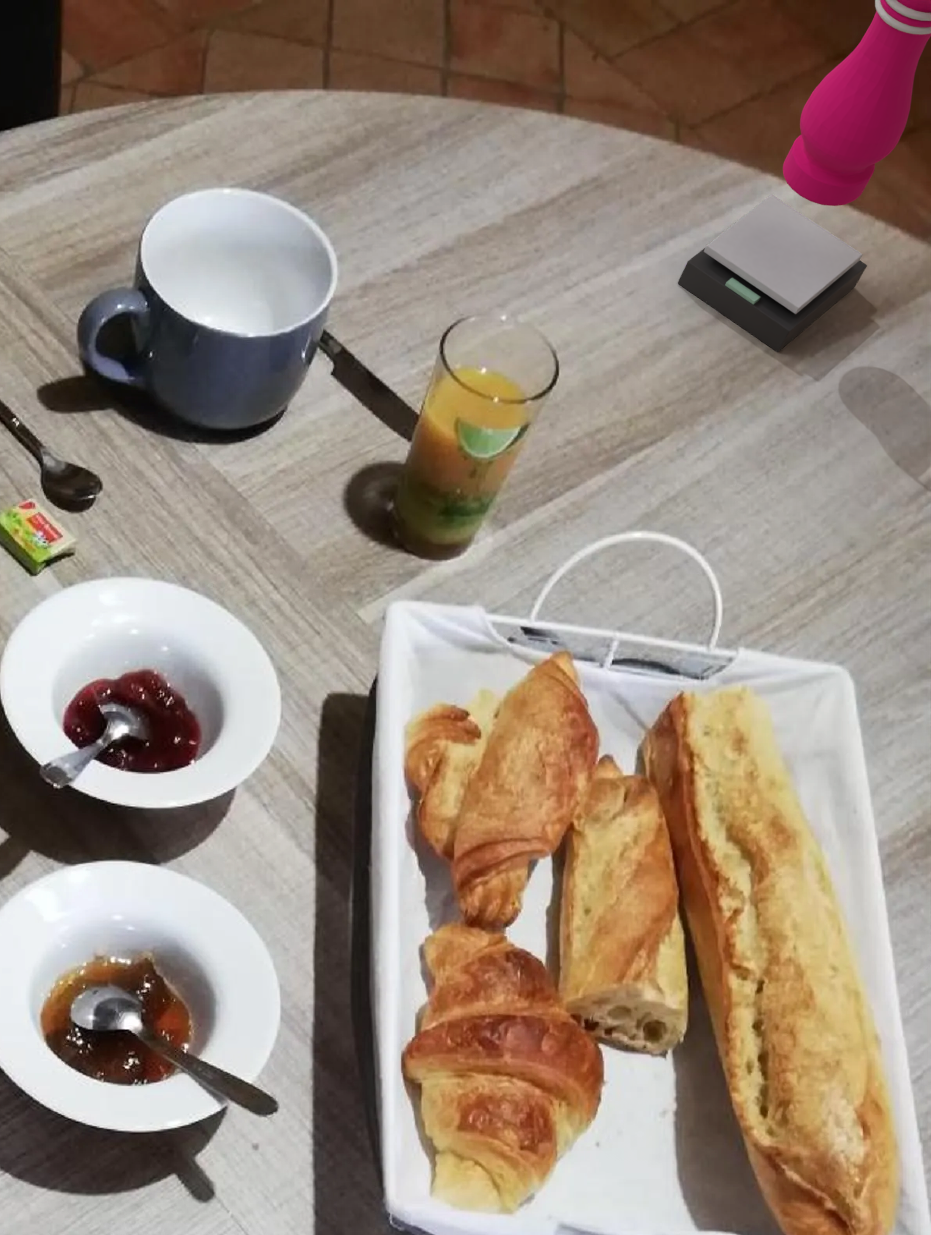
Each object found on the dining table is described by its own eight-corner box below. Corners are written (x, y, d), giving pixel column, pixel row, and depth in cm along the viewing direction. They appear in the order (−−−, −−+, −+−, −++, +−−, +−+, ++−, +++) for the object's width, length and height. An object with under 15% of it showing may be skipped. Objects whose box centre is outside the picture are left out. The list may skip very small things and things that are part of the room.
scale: (854, 286, 133) (875, 251, 130) (777, 352, 129) (797, 317, 127) (755, 220, 135) (773, 184, 132) (677, 283, 132) (693, 247, 129)
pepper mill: (813, 132, 126) (963, -164, 107) (888, 184, 124) (1053, -107, 106) (756, 171, 124) (898, -123, 105) (831, 225, 122) (989, -65, 103)
